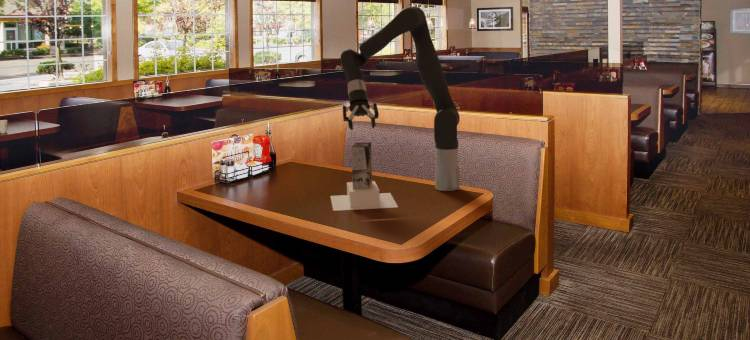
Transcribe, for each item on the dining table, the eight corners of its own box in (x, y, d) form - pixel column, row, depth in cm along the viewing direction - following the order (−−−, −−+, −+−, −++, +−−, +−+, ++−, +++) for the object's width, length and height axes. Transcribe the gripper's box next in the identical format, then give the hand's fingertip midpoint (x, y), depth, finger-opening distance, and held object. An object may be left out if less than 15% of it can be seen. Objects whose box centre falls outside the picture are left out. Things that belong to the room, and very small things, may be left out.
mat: (390, 194, 246) (390, 192, 246) (398, 208, 227) (398, 207, 227) (330, 197, 243) (330, 195, 243) (333, 212, 224) (333, 210, 224)
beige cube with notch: (375, 195, 242) (374, 180, 241) (379, 205, 229) (379, 190, 227) (347, 197, 241) (346, 182, 240) (350, 207, 228) (349, 191, 226)
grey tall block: (369, 189, 229) (368, 146, 225) (352, 189, 230) (350, 146, 226) (372, 183, 238) (371, 142, 234) (356, 182, 239) (355, 142, 235)
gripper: (340, 90, 247) (345, 125, 240) (375, 87, 248) (381, 122, 242) (339, 99, 253) (344, 134, 247) (374, 96, 255) (379, 131, 249)
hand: (362, 128), depth 245 cm, fingers open, 8 cm apart
